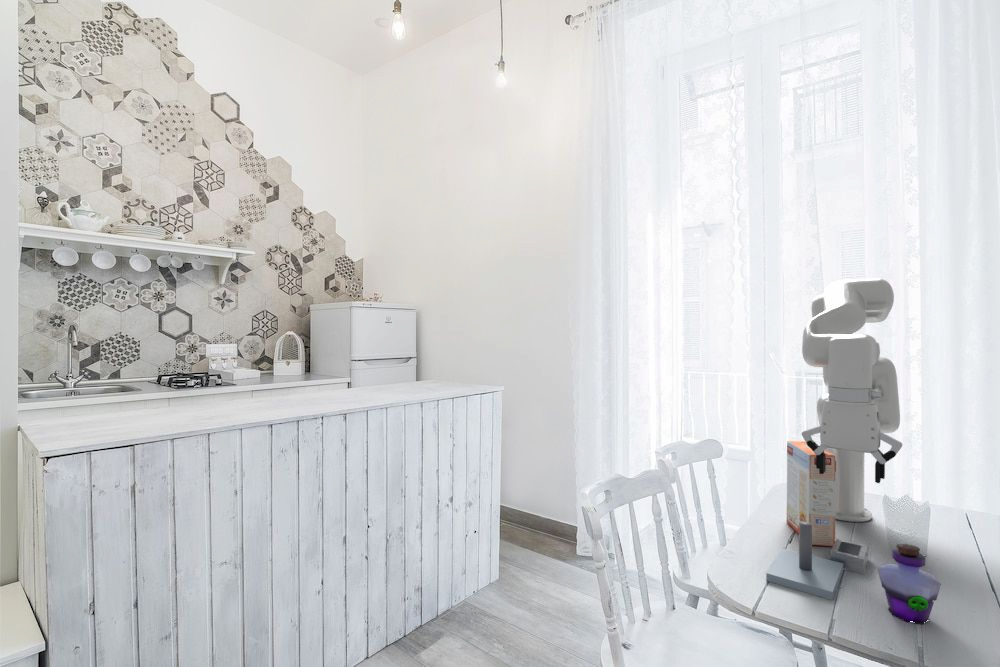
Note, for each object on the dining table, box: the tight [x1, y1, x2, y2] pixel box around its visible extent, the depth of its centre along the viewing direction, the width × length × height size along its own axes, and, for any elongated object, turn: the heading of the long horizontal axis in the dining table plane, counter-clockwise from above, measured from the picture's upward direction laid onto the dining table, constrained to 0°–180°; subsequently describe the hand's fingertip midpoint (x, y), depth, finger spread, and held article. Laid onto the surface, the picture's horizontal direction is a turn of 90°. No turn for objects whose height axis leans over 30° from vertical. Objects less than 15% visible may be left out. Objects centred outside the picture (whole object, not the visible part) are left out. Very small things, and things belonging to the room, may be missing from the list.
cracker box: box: [786, 440, 836, 548], centre depth 120 cm, size 14×6×21 cm, turn 168°
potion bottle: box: [877, 543, 942, 625], centre depth 87 cm, size 9×9×12 cm
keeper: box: [765, 522, 844, 601], centre depth 101 cm, size 14×11×10 cm
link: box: [830, 538, 869, 575], centre depth 106 cm, size 8×6×3 cm
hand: (849, 476), depth 106 cm, fingers open, 9 cm apart
